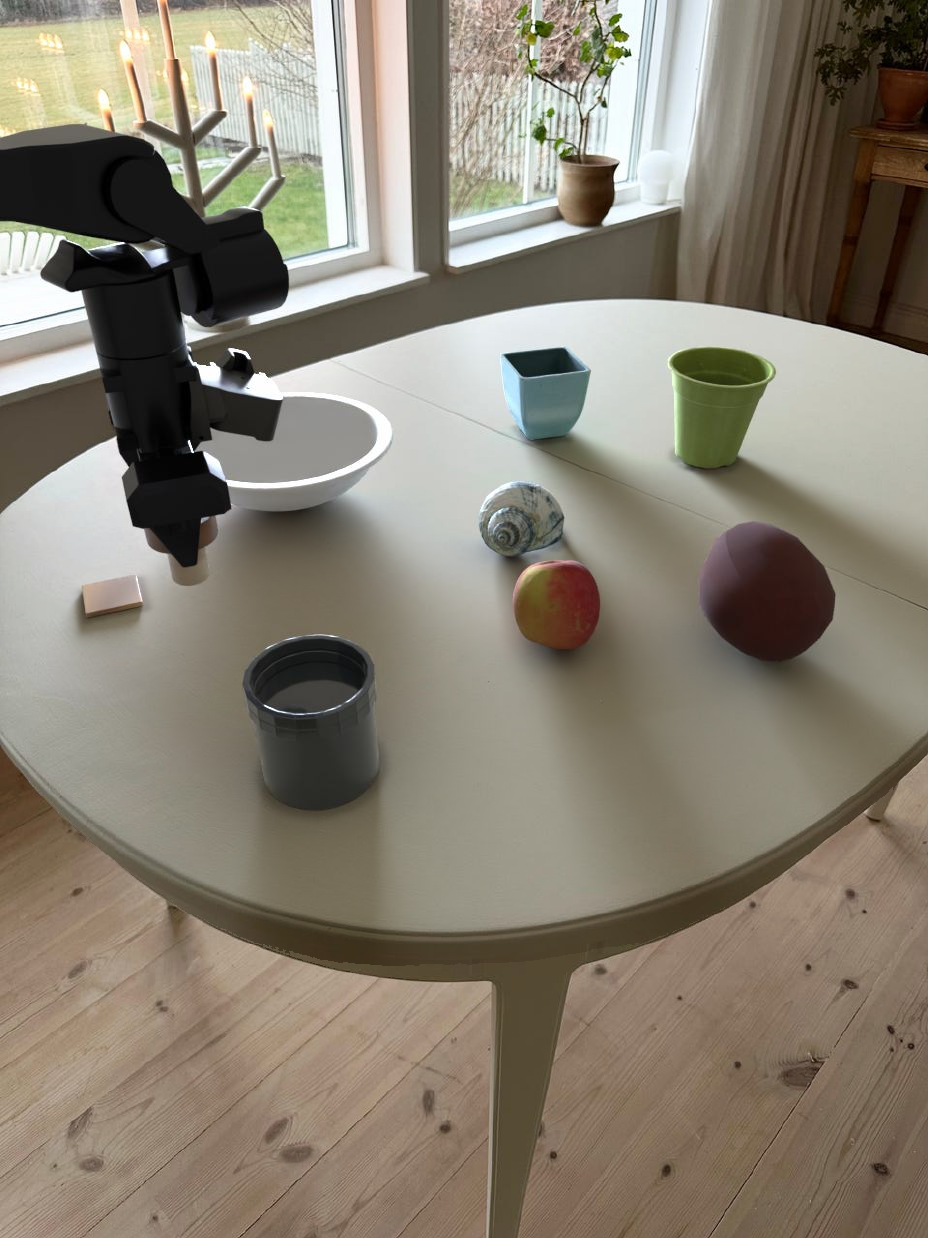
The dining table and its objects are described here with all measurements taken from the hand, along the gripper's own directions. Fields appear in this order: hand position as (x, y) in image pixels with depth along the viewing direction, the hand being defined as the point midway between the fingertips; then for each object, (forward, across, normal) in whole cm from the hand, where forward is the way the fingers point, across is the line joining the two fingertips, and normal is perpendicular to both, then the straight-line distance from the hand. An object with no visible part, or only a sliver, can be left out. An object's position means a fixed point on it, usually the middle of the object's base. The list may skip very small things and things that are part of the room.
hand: (184, 547), depth 69 cm
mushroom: (+3, 0, 0) cm, 3 cm away
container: (+13, -13, -6) cm, 20 cm away
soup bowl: (+13, +30, -13) cm, 35 cm away
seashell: (+13, +10, -33) cm, 37 cm away
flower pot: (+13, +33, -46) cm, 58 cm away
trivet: (+13, +15, +7) cm, 21 cm away
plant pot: (+13, +20, -61) cm, 66 cm away
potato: (+13, -13, -45) cm, 48 cm away
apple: (+13, -6, -29) cm, 32 cm away
